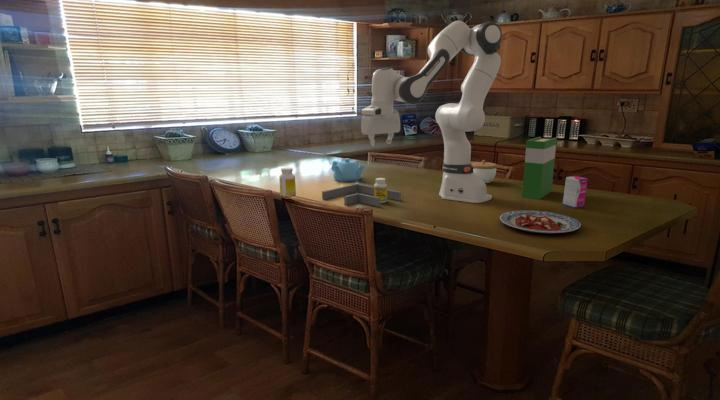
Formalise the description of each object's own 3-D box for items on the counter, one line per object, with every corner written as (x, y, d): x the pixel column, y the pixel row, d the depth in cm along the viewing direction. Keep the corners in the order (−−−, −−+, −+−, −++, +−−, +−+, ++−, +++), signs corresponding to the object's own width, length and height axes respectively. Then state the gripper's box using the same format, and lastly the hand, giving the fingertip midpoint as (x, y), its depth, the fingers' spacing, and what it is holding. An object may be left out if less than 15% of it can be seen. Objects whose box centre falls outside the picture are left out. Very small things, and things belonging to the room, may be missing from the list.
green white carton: (534, 189, 215) (539, 136, 209) (551, 191, 211) (556, 137, 205) (522, 196, 202) (526, 140, 196) (539, 199, 197) (545, 141, 191)
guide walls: (400, 200, 197) (401, 192, 196) (366, 210, 182) (366, 201, 181) (357, 191, 213) (357, 183, 213) (322, 199, 198) (322, 191, 198)
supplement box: (574, 208, 183) (577, 179, 180) (562, 205, 188) (564, 176, 185) (584, 206, 185) (588, 178, 183) (572, 203, 190) (575, 175, 188)
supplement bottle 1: (299, 197, 203) (298, 167, 200) (290, 200, 197) (289, 170, 194) (285, 195, 206) (284, 166, 203) (277, 199, 200) (275, 169, 197)
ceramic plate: (490, 230, 157) (490, 221, 156) (510, 212, 178) (510, 204, 178) (573, 243, 144) (574, 234, 143) (584, 222, 165) (585, 214, 165)
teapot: (360, 176, 248) (359, 155, 245) (365, 181, 233) (365, 160, 231) (331, 177, 245) (330, 156, 243) (334, 183, 231) (334, 161, 228)
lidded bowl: (499, 181, 232) (500, 159, 230) (491, 186, 222) (492, 163, 219) (474, 178, 239) (475, 157, 236) (465, 183, 229) (466, 160, 226)
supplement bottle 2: (386, 199, 198) (386, 177, 195) (387, 202, 192) (388, 179, 190) (373, 200, 197) (373, 177, 195) (374, 203, 192) (374, 180, 190)
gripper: (392, 109, 197) (391, 142, 200) (358, 110, 183) (358, 145, 186) (404, 109, 193) (403, 143, 196) (370, 110, 178) (369, 147, 182)
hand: (381, 144), depth 191 cm, fingers open, 8 cm apart
